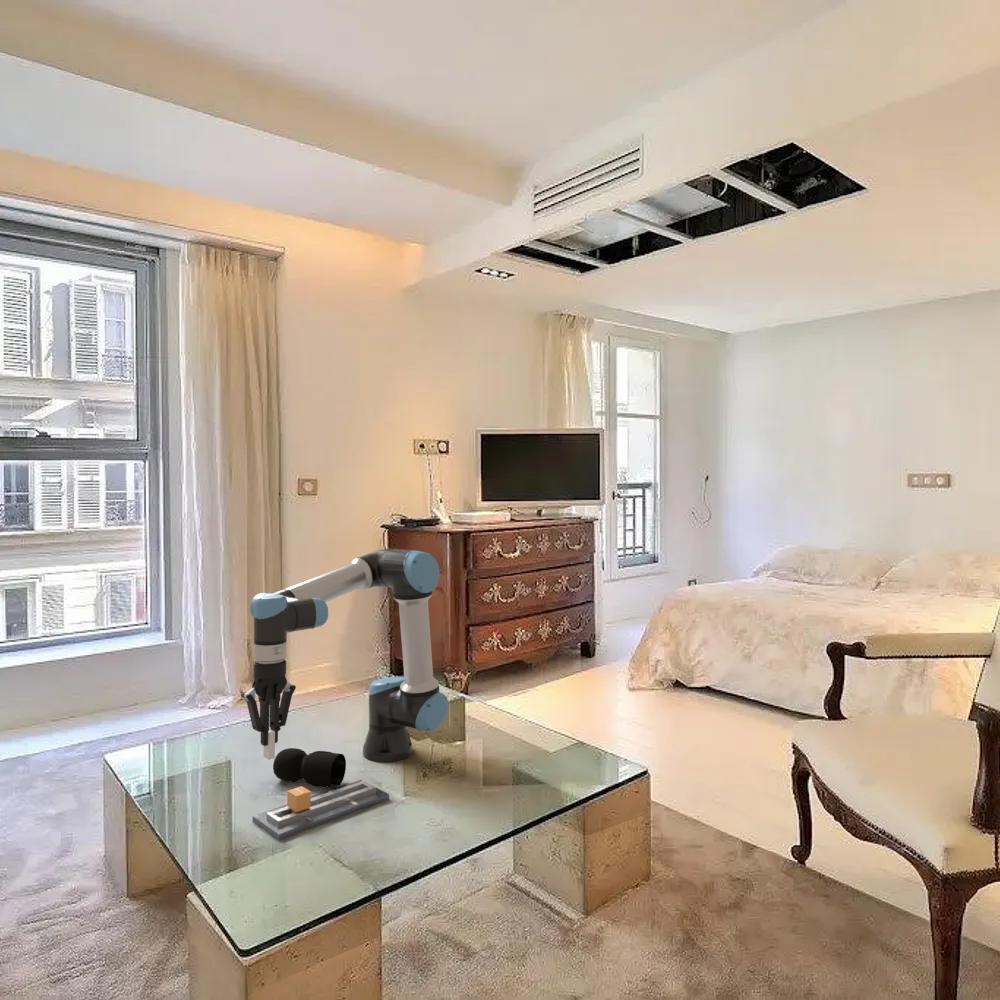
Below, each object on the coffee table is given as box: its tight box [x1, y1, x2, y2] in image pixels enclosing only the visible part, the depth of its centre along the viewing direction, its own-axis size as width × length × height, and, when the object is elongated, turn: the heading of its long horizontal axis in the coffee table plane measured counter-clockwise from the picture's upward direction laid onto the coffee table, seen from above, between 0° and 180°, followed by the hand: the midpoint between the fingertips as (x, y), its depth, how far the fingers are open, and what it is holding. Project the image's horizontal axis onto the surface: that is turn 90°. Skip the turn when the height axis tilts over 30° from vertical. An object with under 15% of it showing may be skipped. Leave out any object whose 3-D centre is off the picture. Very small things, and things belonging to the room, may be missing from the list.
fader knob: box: [286, 785, 312, 813], centre depth 183 cm, size 4×4×5 cm
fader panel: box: [252, 779, 390, 841], centre depth 189 cm, size 32×13×3 cm, turn 135°
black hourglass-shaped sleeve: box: [272, 747, 347, 789], centre depth 206 cm, size 9×9×20 cm
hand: (269, 757), depth 177 cm, fingers closed
